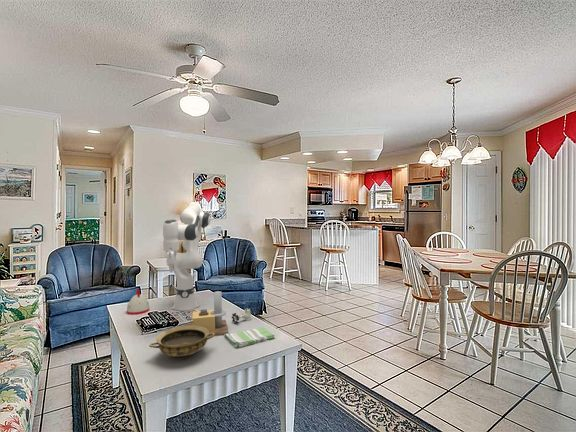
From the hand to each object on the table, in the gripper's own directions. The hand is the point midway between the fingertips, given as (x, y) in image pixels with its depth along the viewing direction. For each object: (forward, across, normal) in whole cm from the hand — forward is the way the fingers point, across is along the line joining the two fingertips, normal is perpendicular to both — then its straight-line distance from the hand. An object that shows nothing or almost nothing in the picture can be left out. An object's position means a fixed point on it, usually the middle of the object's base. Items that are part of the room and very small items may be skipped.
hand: (171, 270), depth 185 cm
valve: (+34, -5, -41) cm, 54 cm away
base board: (+34, -12, -19) cm, 41 cm away
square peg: (+32, -12, -18) cm, 39 cm away
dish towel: (+35, -31, -41) cm, 62 cm away
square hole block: (+32, -12, -21) cm, 40 cm away
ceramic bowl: (+34, -40, -7) cm, 53 cm away
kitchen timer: (+34, +36, +25) cm, 56 cm away
